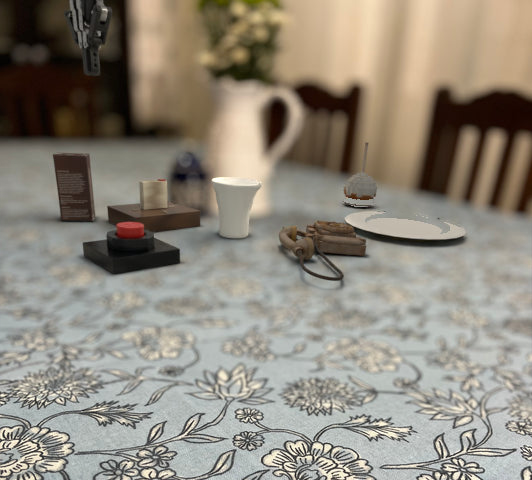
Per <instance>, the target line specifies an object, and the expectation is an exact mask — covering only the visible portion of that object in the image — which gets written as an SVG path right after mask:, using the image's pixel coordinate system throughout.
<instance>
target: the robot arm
mask: <svg viewBox="0 0 532 480" xmlns="http://www.w3.org/2000/svg"><path fill="white" fill-rule="evenodd" d="M63 15H64V19H65V21H66V23H67V27H68V29H69V32H70V34H71V36H72V40H73V42H74V44H75V45H79V46H78V47H79V49H80V50H81V55H82V65H83V74H84V75H86V76H93V77H99V76H100V75H101V63H100V50H101V48H102V46H105V45H106V42H107V38H108V34H109V33H108V32H109V29H110V24H111V21H112V17H113V9H112V7H110V6H106V5H105V4H104V0H69V9H64V13H63Z"/></svg>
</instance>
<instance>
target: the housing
mask: <svg viewBox="0 0 532 480" xmlns="http://www.w3.org/2000/svg"><path fill="white" fill-rule="evenodd" d="M105 237H106V239H100V240H99V239H98V240H91V241H85V242H84V241H83V242H82V250H83V257H84V258H86V259H87V260H89V261H90V262H92V263H94V264H96V265H98V266H99V267H101V268H103V269H105V271H108V272H110V273H111V274H113V275H116V274H123V273H129V272H134V271H139V270H140V271H141V270H147V269H150V268H151V269H152V268H158V267H163V266H168V265H176V264H180V263H181V248H179V247H177V246H174V245H173V244H170V243H167V242H165V241H163V240H161V239H158V238H156V237H155V232H151V231H149V230H144V236H143V237H136V238H124V237H118V236H117V230H116V228H115V229H112V230H110V231H109V230H108V231H107V232H106V235H105Z"/></svg>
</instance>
